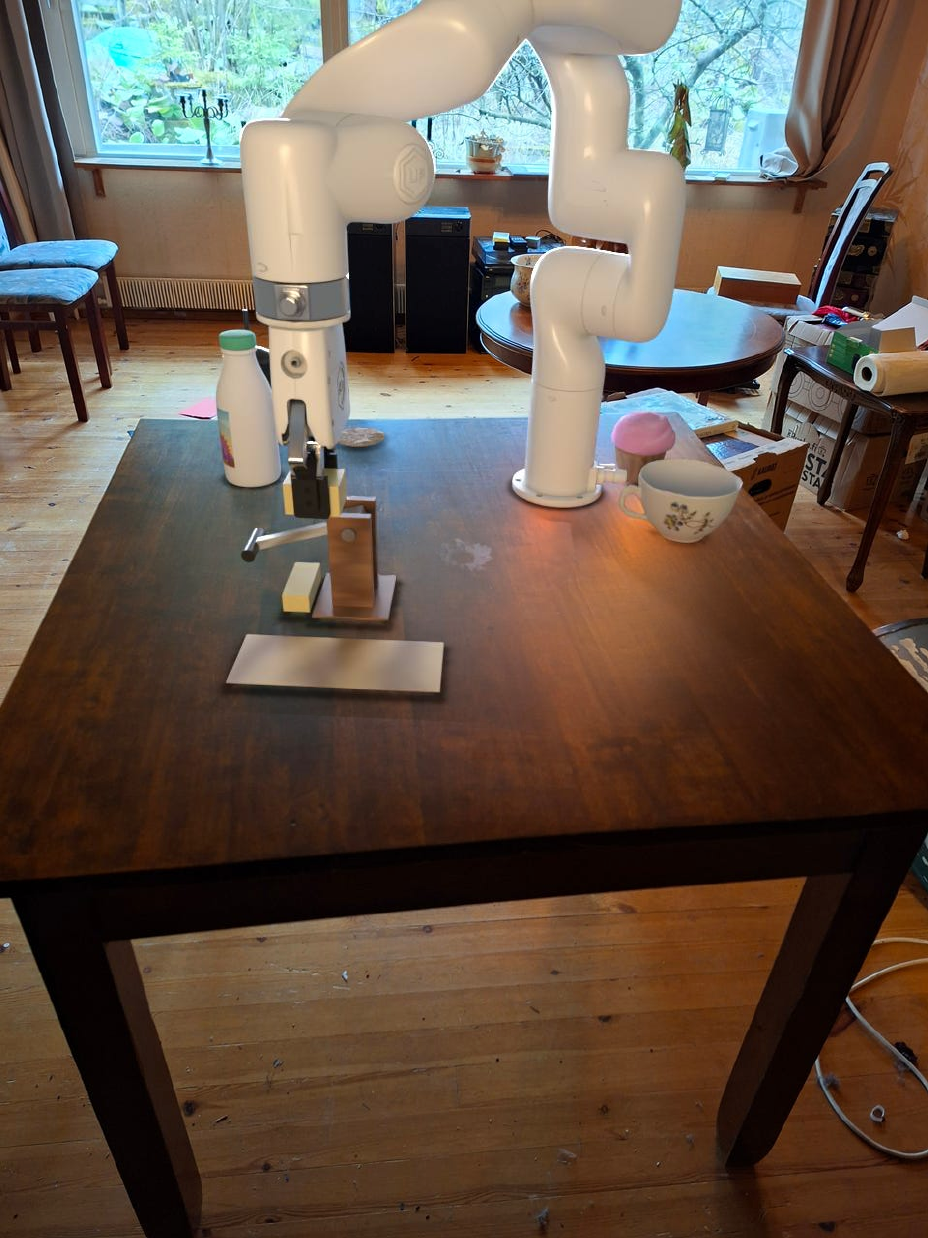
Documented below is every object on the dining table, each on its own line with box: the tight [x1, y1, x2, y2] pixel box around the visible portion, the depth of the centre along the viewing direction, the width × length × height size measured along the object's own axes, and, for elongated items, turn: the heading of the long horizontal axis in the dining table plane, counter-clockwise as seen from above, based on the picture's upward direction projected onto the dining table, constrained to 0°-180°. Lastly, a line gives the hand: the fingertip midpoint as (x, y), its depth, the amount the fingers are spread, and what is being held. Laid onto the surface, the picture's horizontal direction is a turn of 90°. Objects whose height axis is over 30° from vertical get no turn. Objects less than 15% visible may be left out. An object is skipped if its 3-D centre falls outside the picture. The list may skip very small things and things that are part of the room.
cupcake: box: [610, 410, 676, 484], centre depth 119 cm, size 9×9×10 cm
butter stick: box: [281, 561, 322, 613], centre depth 90 cm, size 3×7×3 cm, turn 178°
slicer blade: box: [240, 505, 366, 563], centre depth 86 cm, size 13×5×2 cm, turn 88°
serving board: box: [225, 633, 445, 693], centre depth 81 cm, size 20×8×1 cm, turn 88°
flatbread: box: [337, 427, 386, 448], centre depth 130 cm, size 8×8×1 cm
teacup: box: [618, 457, 744, 544], centre depth 105 cm, size 15×12×8 cm
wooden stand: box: [311, 495, 398, 622], centre depth 88 cm, size 8×9×12 cm
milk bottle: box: [215, 329, 282, 488], centre depth 112 cm, size 8×8×20 cm
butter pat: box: [282, 468, 348, 517], centre depth 76 cm, size 5×4×3 cm
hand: (317, 503), depth 77 cm, fingers closed on butter pat, 4 cm apart
